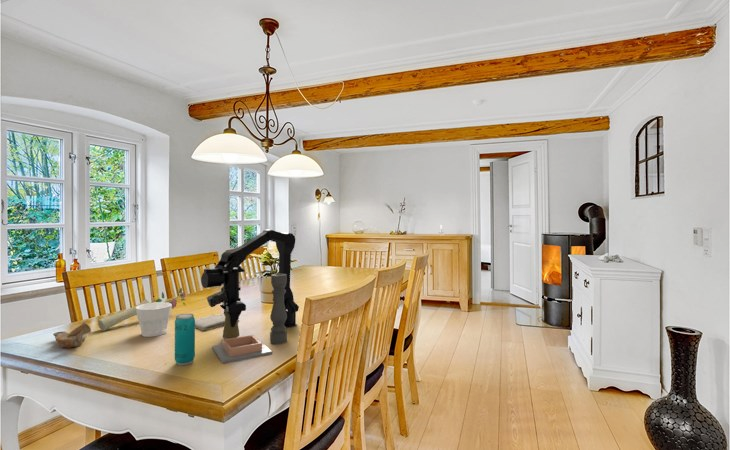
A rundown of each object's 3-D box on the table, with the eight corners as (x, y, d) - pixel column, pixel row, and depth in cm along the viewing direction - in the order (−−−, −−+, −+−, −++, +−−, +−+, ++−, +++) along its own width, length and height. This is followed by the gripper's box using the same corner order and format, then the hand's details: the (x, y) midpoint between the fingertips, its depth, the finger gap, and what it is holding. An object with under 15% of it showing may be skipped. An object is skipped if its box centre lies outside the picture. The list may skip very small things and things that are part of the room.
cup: (176, 333, 145) (176, 305, 145) (141, 341, 136) (141, 311, 136) (165, 326, 154) (165, 300, 154) (131, 333, 145) (131, 305, 145)
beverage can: (179, 359, 119) (179, 313, 119) (197, 359, 120) (197, 313, 120) (171, 366, 114) (171, 318, 113) (190, 366, 114) (190, 317, 114)
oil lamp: (69, 355, 122) (69, 325, 122) (42, 343, 133) (42, 315, 133) (99, 347, 130) (99, 319, 129) (71, 336, 140) (71, 310, 140)
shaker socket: (257, 340, 139) (257, 331, 139) (272, 353, 125) (272, 344, 125) (212, 348, 130) (212, 338, 130) (222, 363, 116) (222, 353, 116)
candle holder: (290, 339, 140) (290, 274, 139) (281, 345, 134) (281, 276, 133) (275, 337, 142) (276, 273, 141) (266, 343, 136) (267, 275, 135)
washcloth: (241, 322, 164) (241, 315, 164) (204, 332, 149) (204, 324, 149) (224, 318, 170) (224, 311, 170) (187, 327, 155) (187, 320, 155)
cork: (233, 339, 136) (233, 309, 136) (219, 338, 138) (219, 308, 137) (242, 334, 142) (242, 305, 142) (228, 333, 144) (228, 304, 143)
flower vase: (103, 346, 151) (180, 310, 181) (116, 343, 145) (194, 306, 174) (91, 320, 150) (171, 287, 180) (104, 315, 144) (184, 283, 173)
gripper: (203, 282, 143) (203, 322, 143) (213, 291, 127) (213, 335, 128) (233, 280, 149) (233, 318, 149) (246, 287, 134) (246, 330, 134)
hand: (231, 325), depth 140 cm, fingers closed on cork, 4 cm apart
